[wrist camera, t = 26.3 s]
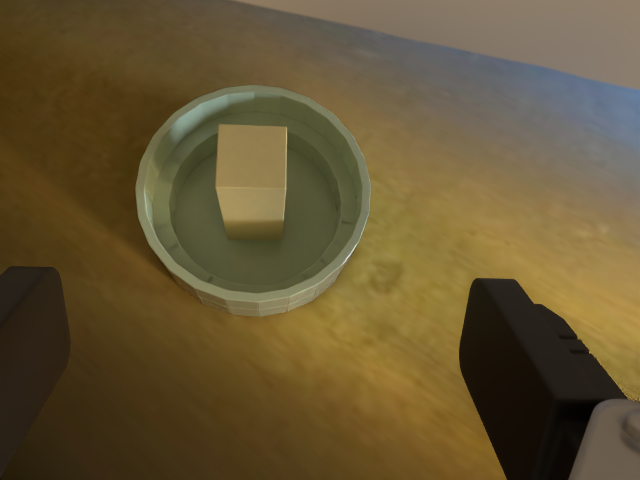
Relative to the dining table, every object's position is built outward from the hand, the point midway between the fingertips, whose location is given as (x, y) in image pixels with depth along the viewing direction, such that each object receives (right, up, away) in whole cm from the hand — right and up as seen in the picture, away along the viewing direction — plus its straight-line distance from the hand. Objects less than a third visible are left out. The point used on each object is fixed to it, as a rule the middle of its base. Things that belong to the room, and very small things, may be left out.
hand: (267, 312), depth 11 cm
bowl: (-4, +3, +31) cm, 31 cm away
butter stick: (-4, +3, +30) cm, 31 cm away
